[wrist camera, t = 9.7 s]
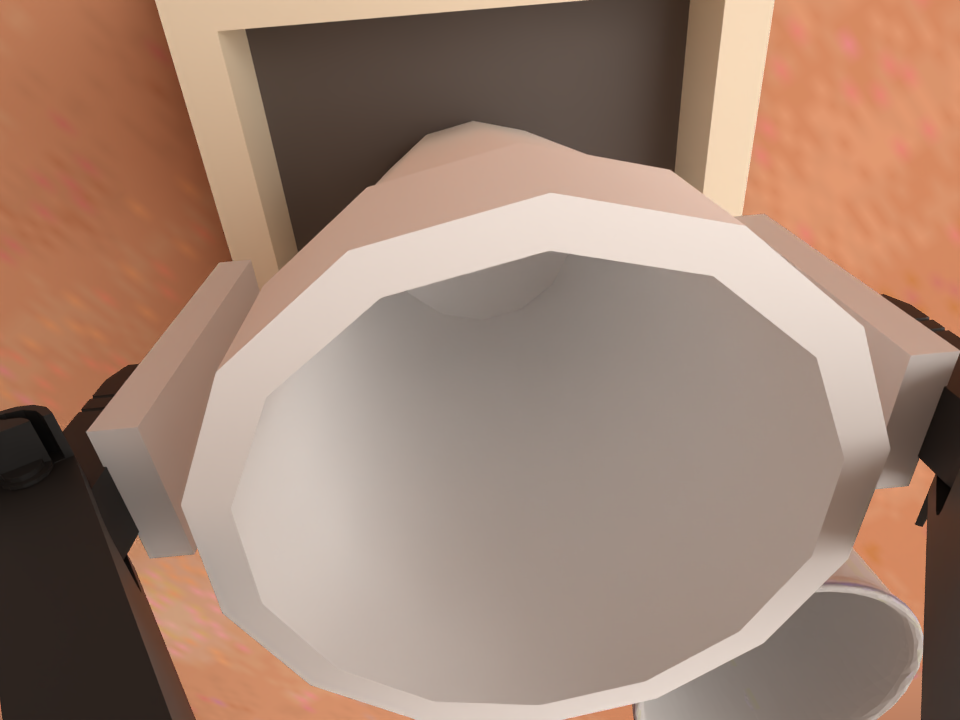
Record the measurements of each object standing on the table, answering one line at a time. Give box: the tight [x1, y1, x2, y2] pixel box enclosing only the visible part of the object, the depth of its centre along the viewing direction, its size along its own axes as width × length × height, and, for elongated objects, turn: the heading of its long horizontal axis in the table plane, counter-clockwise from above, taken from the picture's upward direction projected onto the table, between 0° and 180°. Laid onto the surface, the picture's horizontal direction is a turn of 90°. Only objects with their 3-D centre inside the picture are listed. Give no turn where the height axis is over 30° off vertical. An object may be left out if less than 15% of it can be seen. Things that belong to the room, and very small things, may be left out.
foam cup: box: [181, 121, 891, 720], centre depth 14 cm, size 10×9×13 cm
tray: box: [155, 0, 775, 291], centre depth 19 cm, size 16×16×4 cm
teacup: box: [632, 548, 924, 720], centre depth 27 cm, size 14×11×8 cm
